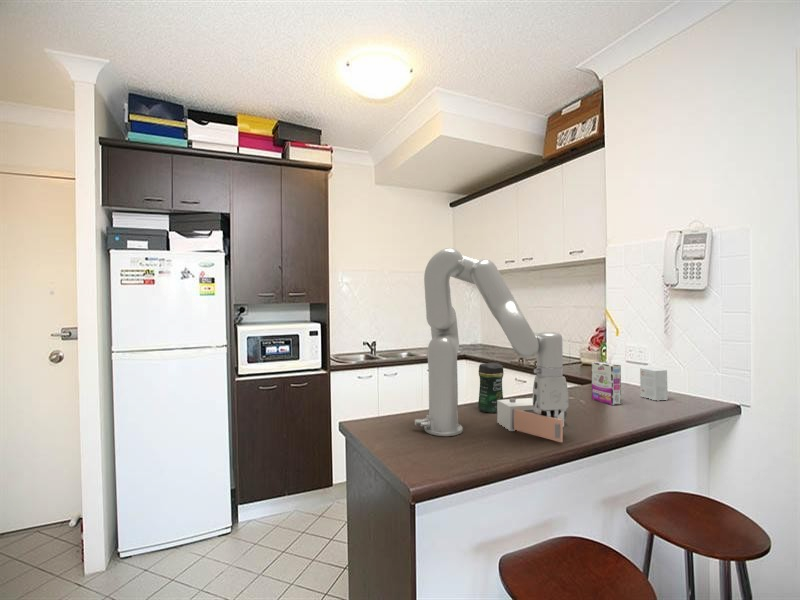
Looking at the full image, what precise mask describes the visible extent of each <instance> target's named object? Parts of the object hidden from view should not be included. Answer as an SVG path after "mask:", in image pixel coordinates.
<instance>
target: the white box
mask: <svg viewBox="0 0 800 600" xmlns="http://www.w3.org/2000/svg"><path fill="white" fill-rule="evenodd" d="M512 409H517V410H521V411H526V412H530V413H535V412H534V406H533V397H529V398H528V397H526V398H515V397H511V398H508V399H503V400H497V412H496V414H497V415H496V416H497V420H496V421H497V424H498V423H499V424H498V425H500V426H501V425H502V426H501V427H502V428H504V427H505V429H506V430H507V429H508V430H507V431H508V432H515V430H513V429H512ZM535 414H538V413H535ZM539 415H541V414H539ZM566 417H567V410H566V411H564V412H561V413H560V414H559V415H558V418H557V419H561V420H562V425H563V428H565V419H566Z"/></svg>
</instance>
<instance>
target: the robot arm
mask: <svg viewBox="0 0 800 600" xmlns="http://www.w3.org/2000/svg"><path fill="white" fill-rule="evenodd" d="M423 276H424V277H423V278H424V279H423V280H424V281H423V285H424V299H425V302H424V303H425V313H426V315H425V316H426V323H427V325H428V326H429V328H430V331H431V332H430V333H431V340H430V341H429V342H428V346H427V350H426V351H427V366H428V367H427V369H428V414H426V417H424V418H417V419H416V418H415V419H414V425H415V426H420V427H424V428H423V429H424V431H425V432H426V433H427V434H429V435H432V436H436V437H437V436H439V437H452V436H458V435H460V434H462V432H463V431H464V429H463V426H462V425H461V424H459V417H458V416H459V405H458V404H459V401H458V398H459V396H458V395H459V394H458V393H459V392H458V389H459V388H458V353H459V350H460V349H459V348H460V340H459V339H460V338H459V330H458V319H457V311H456V310H455V308H454V307H453V305H452V297H451V286H450V278H455V279H458V280H460V281H463V282H467V283H469V284H473V285H475V286H476V288H477V290H478V291H479V293H480V295H481V297H482V298H483V300H484V302H485V303H486V306H487V307H488V309H489V311H490V313H491V315H492V316H493V317H494V319H496V321H497V323H498V324H499V325H500V327H501V329H502V331H503V332H504V334H505V336H506V338H507V340H508V341H509V343H510V345H511V348H512V349H513V351H514V352H515V354H516V355H517V356H519V357H520V358H531V357H534V356H535V355H536V368H534V369H533V373H534V374H536V375H535V376H534V380H533V388H532V398H533V406H534V412H535V413H538V414H541V415H544V416H548V417H553V418H558V415H559V414H560V413H561V412H564V411H566V412H567V409H568V408H569V407H570V406H569V405H570V400H569V389H568V385H567V379H566V377H565V376H563V375H564V374H563V373H564V372H563V371H564V370H563V369H564V368H563V363H564V362H563V353H564V352H563V336H562V334H560V332H554V331H553V332H549V331H546V332H545V331H542V332H534V331H533V329H532V328H531V325H530V324H529V321H527V319H526V317H525V314H523V312H522V311H521V309H520V306H519V304H518V302H517V300H516V299H515V297H514V295H513V294H512V292H511V290H510V288H509V286H508V285H507V283H506V281H505V280H504V278H503V276H502V274H501V273H500V271H499V269H498V267H497V266H496V264H495V263H494V262H493V261H491V260H489V259H480V260H479V259H475V258H471V257H468V256H467V255H466V256H465V255H463V254H461V252H460V251H458V250H457V249H456V248H451V247H448V248H444V249H441V250H439V251H437V252H436V253H435V254H433V255H432V257H431V258H430V259H429V260H428V262H427V265H426V267H425V270H424V274H423Z"/></svg>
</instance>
